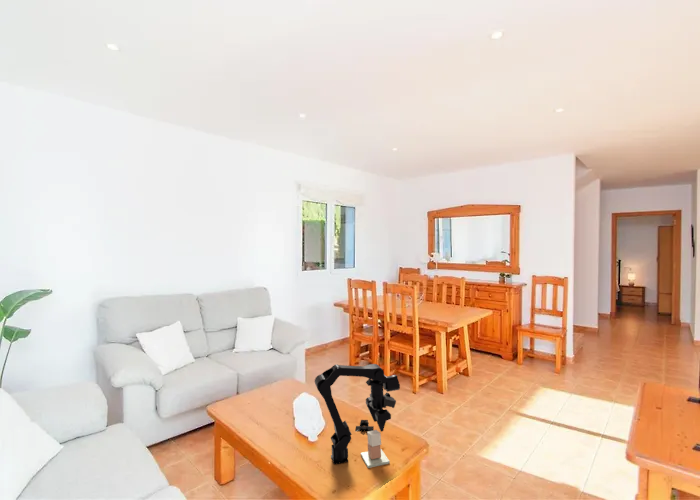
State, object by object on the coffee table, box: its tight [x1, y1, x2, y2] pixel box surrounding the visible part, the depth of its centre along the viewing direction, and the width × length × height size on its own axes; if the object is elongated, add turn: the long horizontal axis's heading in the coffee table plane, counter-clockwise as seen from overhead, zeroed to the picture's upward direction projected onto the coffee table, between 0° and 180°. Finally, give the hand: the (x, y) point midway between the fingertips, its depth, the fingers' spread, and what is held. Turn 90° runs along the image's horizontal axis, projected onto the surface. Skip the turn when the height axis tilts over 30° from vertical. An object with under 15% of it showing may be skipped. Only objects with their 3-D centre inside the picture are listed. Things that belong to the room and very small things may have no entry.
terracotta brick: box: [367, 443, 382, 459], centre depth 163 cm, size 4×4×5 cm
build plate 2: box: [355, 419, 375, 433], centre depth 189 cm, size 12×7×5 cm, turn 84°
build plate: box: [360, 448, 391, 469], centre depth 163 cm, size 10×10×1 cm
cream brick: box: [366, 429, 382, 447], centre depth 164 cm, size 4×4×5 cm
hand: (378, 426), depth 168 cm, fingers open, 9 cm apart
